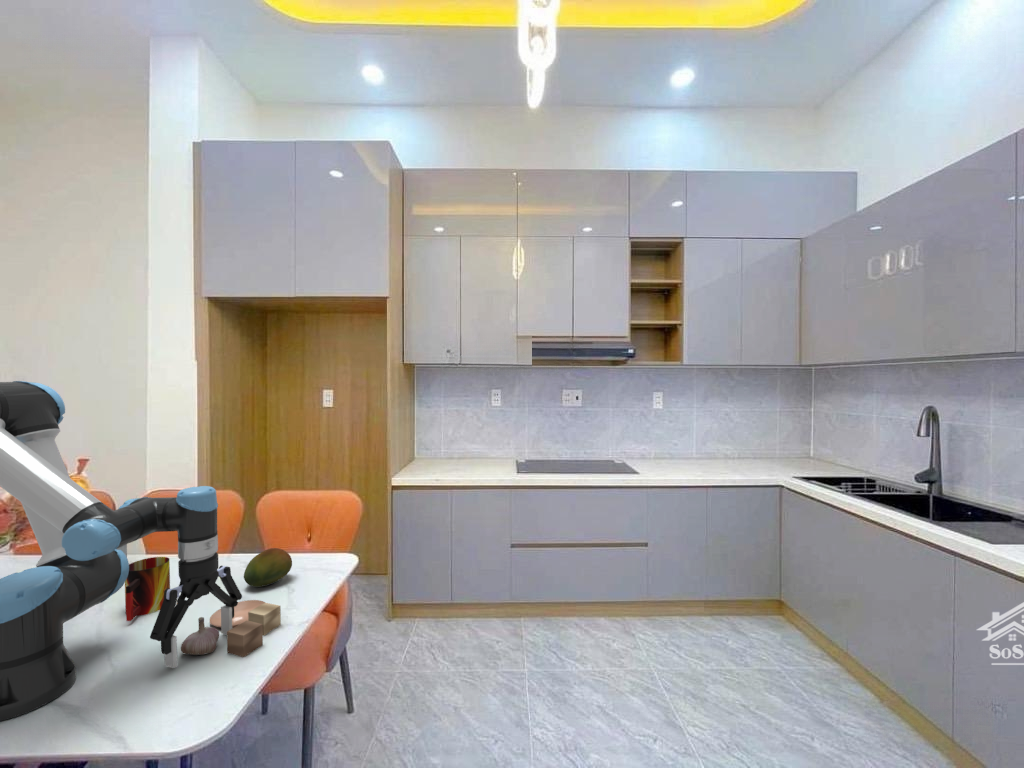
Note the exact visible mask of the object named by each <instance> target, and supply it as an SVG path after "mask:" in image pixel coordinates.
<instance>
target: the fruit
mask: <svg viewBox="0 0 1024 768" xmlns="http://www.w3.org/2000/svg"><path fill="white" fill-rule="evenodd" d="M292 566H293V561H292V557H291V555H290V554H289V552H288V551H286V550H284V549H281V548H279V547H271V548H267V549H265V550H263V551H261V552H259V553H258V554H257V555H255V556H253V558H252V559H251V560H250V561H249V562H248V564H247V565H246V567H245V570H244V574H243V579H244V581H245V583H246V584H247V585H248V586H251V587H253V588H260V587H266V586H270V585H271V584H274V583H277V582H279V581H280V580H282V579H283V578H284V577H286V576H287V575H288V573H289V572H290V571H291V569H292Z"/></svg>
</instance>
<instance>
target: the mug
mask: <svg viewBox="0 0 1024 768" xmlns="http://www.w3.org/2000/svg"><path fill="white" fill-rule="evenodd" d="M170 565H171V564H170V558H169V557H167V556H153V557H148V558H142V559H140V560H136V561H134V562H131V563H129V573H128V577H127V579H126V581H125V583H124V601H125V605H124V607H125V616H126V619H125V620H126V622H131V621H133V620H134V619H135V618H136V617H141V616H144V615H145V616H146V615H148V614H149V615H150V614H153V613H156V612H159V611H160V609H161V606H162V603H163V601H164V591H165V590H166V589H167V588H170V589H171V571H170V570H171V569H170Z"/></svg>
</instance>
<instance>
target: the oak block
mask: <svg viewBox="0 0 1024 768" xmlns="http://www.w3.org/2000/svg"><path fill="white" fill-rule="evenodd" d="M281 611H282V610H281V605H279V604H274V603H269V602H265V603H264V604H262V605H260V606H258V607H257V608H255V609H253V610H251V611H249V612H248V621H251V622H255V623H260V624H262V629H263V636H264V637H265V635H267V634H269V633H271V632H272V631H274V630H275V629H277V628H278V627H280V626H281V625H282V623H281V622H282V621H281V620H282V619H281V618H282V617H281V615H282V613H281Z"/></svg>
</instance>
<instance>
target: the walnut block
mask: <svg viewBox="0 0 1024 768" xmlns="http://www.w3.org/2000/svg"><path fill="white" fill-rule="evenodd" d="M263 641H264V639H263V629H262V624H260V623H255V622H251V621H247V620H246V621H245V622H243V623H241V624H239V625H238V626H236V627H234V628H232V629H231V630H229V631H227V635H226V642H227V643H226V647H227V649H226V650H227V654H230V655H234V656H237V657H241V658H246V657H247V656H249V655H250V654H252V653H253V652H254V651H256V650H258V649H259V648H261V647H262V646H264V642H263Z"/></svg>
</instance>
